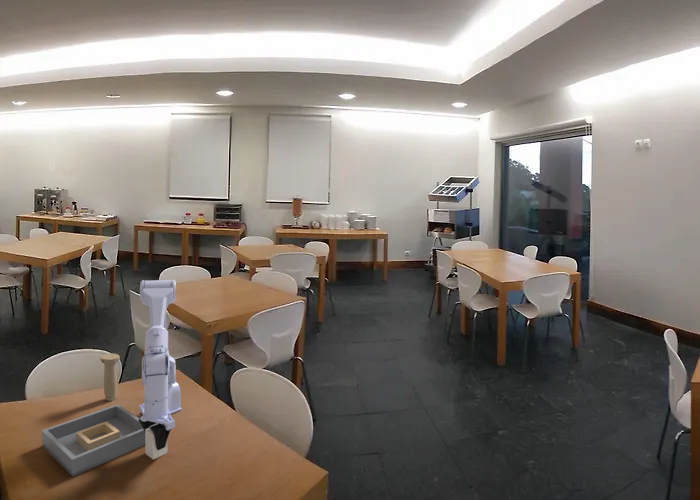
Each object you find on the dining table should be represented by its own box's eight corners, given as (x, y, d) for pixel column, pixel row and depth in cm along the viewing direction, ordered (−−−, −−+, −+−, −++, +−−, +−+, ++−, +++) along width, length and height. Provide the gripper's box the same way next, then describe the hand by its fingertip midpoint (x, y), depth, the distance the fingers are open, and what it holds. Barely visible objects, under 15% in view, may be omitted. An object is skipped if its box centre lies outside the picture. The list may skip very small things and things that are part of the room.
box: (118, 417, 131) (118, 404, 130) (152, 441, 119) (152, 426, 119) (42, 445, 115) (41, 430, 114) (72, 476, 103) (72, 459, 103)
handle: (110, 404, 139) (109, 360, 137) (97, 399, 142) (96, 356, 140) (123, 398, 143) (122, 356, 141) (111, 394, 146) (110, 352, 144)
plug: (159, 447, 117) (159, 420, 116) (167, 452, 114) (167, 425, 114) (145, 453, 114) (145, 426, 113) (153, 459, 111) (153, 431, 110)
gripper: (127, 393, 113) (128, 441, 115) (156, 411, 105) (156, 462, 106) (153, 385, 119) (153, 430, 120) (182, 401, 110) (182, 450, 112)
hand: (156, 444), depth 114 cm, fingers closed on plug, 4 cm apart
